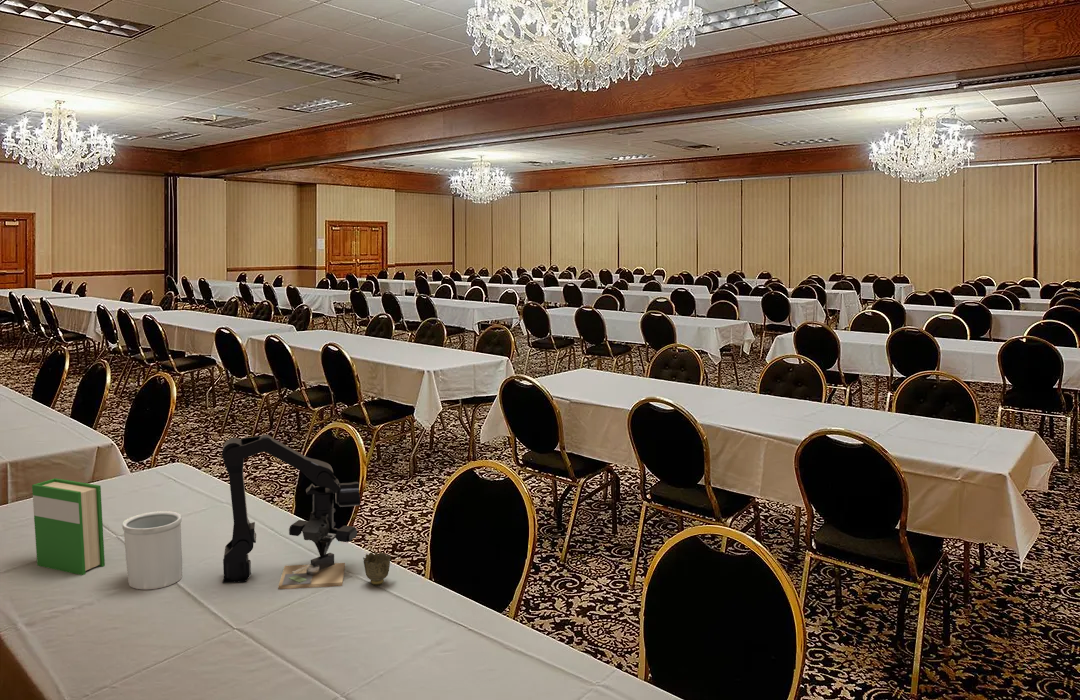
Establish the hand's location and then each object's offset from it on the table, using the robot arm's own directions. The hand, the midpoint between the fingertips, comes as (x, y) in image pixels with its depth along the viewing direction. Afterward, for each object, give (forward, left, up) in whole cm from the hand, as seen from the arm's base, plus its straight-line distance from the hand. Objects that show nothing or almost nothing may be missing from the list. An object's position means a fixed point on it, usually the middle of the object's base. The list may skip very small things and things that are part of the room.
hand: (322, 559), depth 240 cm
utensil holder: (-45, -1, -3) cm, 45 cm away
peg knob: (-2, -5, -2) cm, 6 cm away
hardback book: (-72, +12, -3) cm, 73 cm away
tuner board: (-2, -5, -3) cm, 7 cm away
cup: (+16, -12, -3) cm, 20 cm away
